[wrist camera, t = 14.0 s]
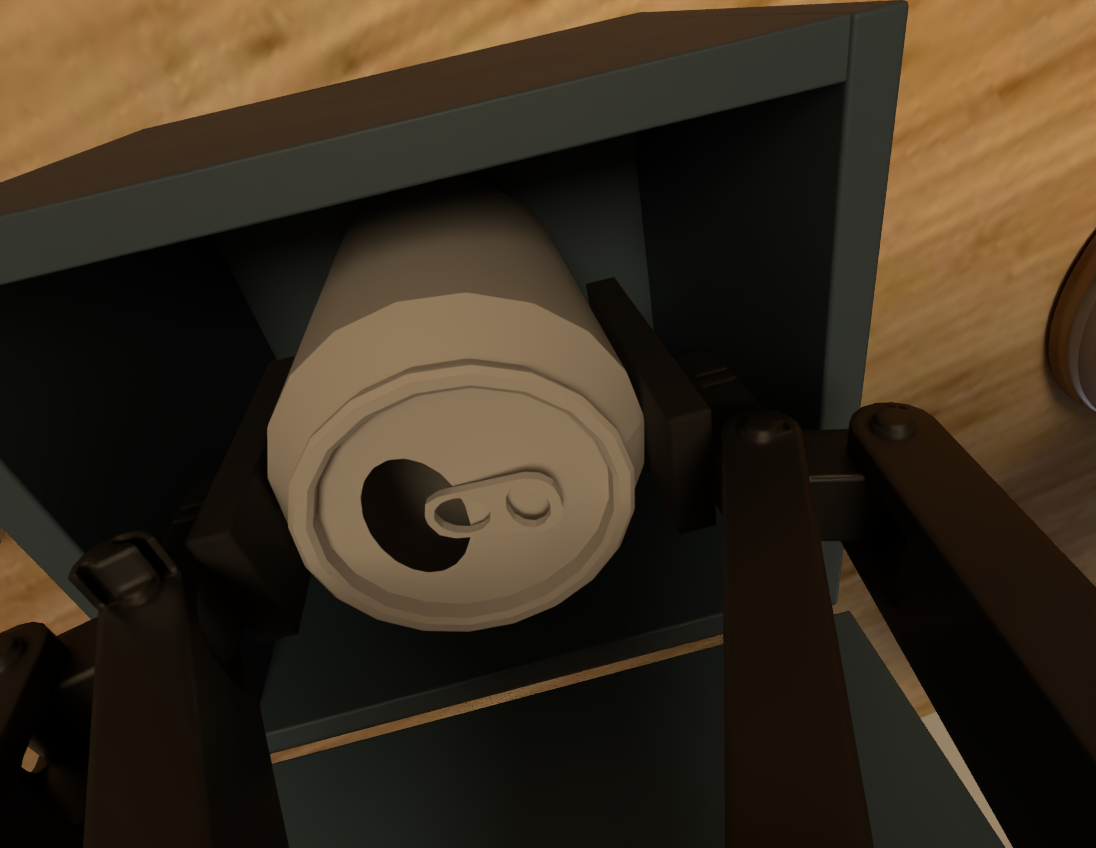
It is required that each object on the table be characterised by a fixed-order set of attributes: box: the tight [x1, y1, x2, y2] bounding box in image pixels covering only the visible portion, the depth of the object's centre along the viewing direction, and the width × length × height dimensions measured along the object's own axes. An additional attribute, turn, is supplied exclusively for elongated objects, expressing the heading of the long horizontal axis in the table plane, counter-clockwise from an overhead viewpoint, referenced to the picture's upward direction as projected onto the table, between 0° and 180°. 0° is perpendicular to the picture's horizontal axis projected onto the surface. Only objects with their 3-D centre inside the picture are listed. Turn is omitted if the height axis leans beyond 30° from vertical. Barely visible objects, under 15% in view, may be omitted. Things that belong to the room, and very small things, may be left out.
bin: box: [0, 0, 908, 754], centre depth 18 cm, size 14×17×14 cm
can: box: [267, 177, 644, 632], centre depth 16 cm, size 8×8×12 cm
